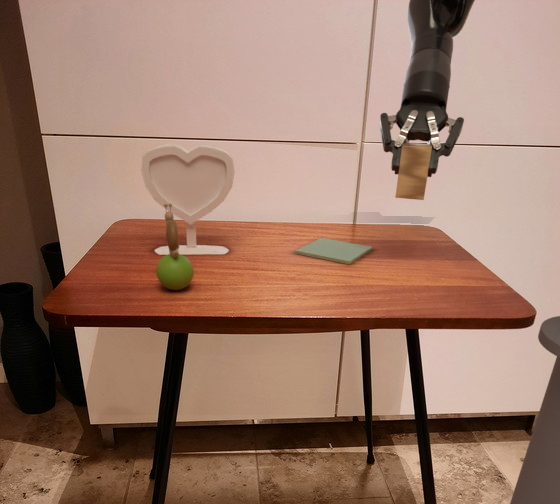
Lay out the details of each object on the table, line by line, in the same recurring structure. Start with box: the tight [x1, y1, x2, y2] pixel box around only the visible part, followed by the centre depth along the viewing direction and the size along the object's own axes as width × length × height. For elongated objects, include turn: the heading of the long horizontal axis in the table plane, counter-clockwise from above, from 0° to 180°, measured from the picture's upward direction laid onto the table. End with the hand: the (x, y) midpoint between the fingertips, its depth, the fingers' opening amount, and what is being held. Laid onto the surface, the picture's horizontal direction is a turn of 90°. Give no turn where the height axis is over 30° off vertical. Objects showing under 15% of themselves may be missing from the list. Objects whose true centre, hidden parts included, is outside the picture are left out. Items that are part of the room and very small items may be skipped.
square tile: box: [294, 237, 373, 265], centre depth 103 cm, size 11×11×1 cm
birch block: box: [394, 142, 432, 201], centre depth 90 cm, size 5×5×8 cm
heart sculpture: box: [140, 143, 235, 256], centre depth 96 cm, size 16×5×18 cm, turn 98°
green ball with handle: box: [156, 203, 194, 291], centre depth 80 cm, size 5×6×12 cm
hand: (413, 172), depth 88 cm, fingers closed on birch block, 4 cm apart
